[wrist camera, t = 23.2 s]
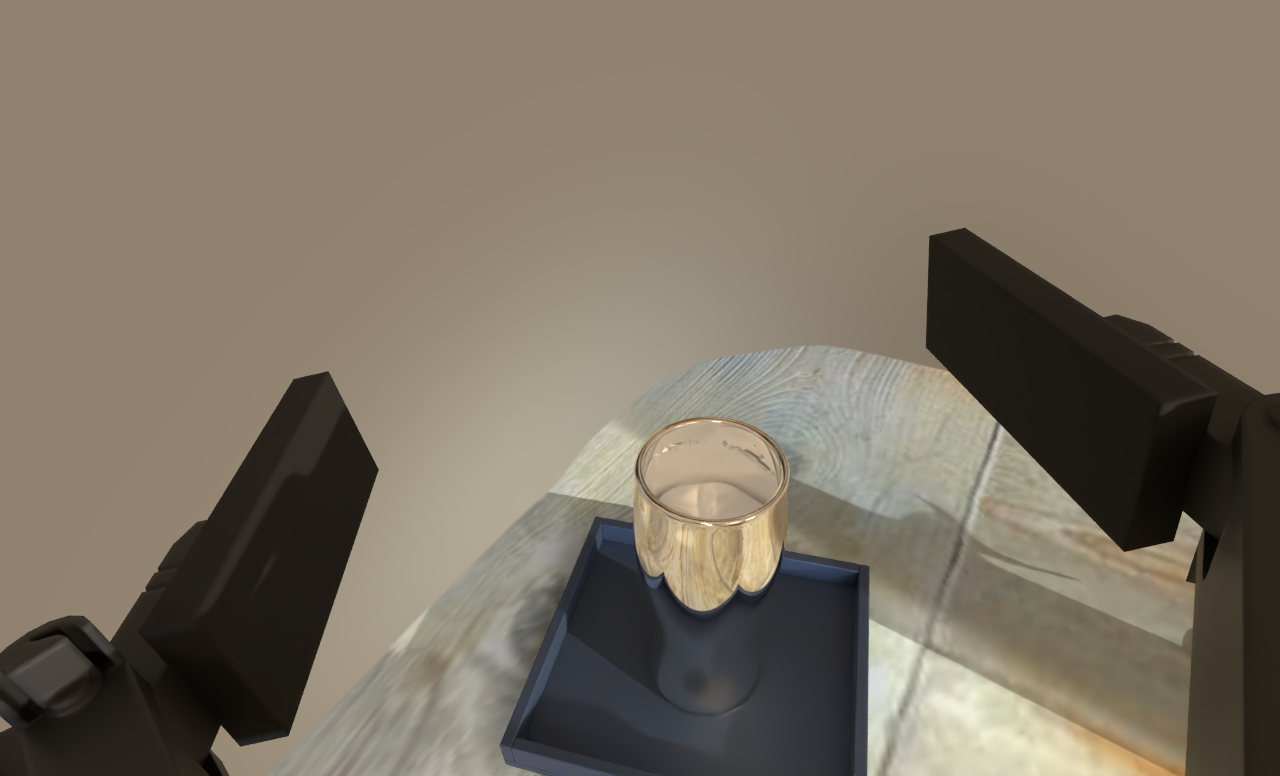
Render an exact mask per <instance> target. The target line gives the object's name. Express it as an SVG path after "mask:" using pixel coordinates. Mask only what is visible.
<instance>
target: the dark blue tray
mask: <svg viewBox="0 0 1280 776" xmlns="http://www.w3.org/2000/svg"><path fill="white" fill-rule="evenodd" d="M654 632H655V622H654V619H653V615H652V612H651V609H650V607H649V604H648V601H647V598H646V595H645V592H644V589H643V586H642V583H641V579H640V575H639V571H638V567H637V562H636V557H635V548H634V538H633V523H628V522H623V521H617V520H612V519H606V518H601V517H595V519H594V522H593V524H592V526H591V529H590V531H589V534H588V536H587V538H586V541H585V543H584V546H583V548H582V550H581V553H580V555H579V557H578V560H577V562H576V565H575V567H574V569H573V572H572V574H571V577H570V579H569V581H568V584H567V586H566V589H565V591H564V593H563V596H562V598H561V600H560V603H559V605H558V608H557V610H556V612H555V615H554V617H553V620H552V622H551V624H550V627H549V629H548V631H547V634H546V636H545V639H544V641H543V643H542V646H541V648H540V651H539V653H538V655H537V658H536V660H535V663H534V665H533V667H532V670H531V672H530V674H529V677H528V679H527V682H526V684H525V686H524V689H523V691H522V694H521V696H520V698H519V701H518V703H517V705H516V708H515V710H514V713H513V715H512V717H511V720H510V722H509V725H508V727H507V729H506V732H505V734H504V737H503V739H502V741H501V744H500V747H501V750H502V753H503V756H504V759H505V763H506V764H507V765H511V766H515V767H518V768H522V769H526V770H529V771H533V772H537V773H540V774H544V775H548V776H867V748H868V654H869V566H866V565H859V564H855V563H849V562H844V561H838V560H833V559H827V558H822V557H816V556H811V555H805V554H799V553H794V552H788V551H784V556H783V562H782V567H781V571H780V574H779V577H778V579H777V582H776V585H775V588H774V591H773V594H772V596H771V598H770V600H769V603H768V605H767V607H766V610H765V612H764V614H763V616H762V618H761V620H760V623H759V625H758V628H757V630H756V642H757V647H758V652H759V661H760V665H759V675H758V679H757V682H756V684H755V686H754V688H753V690H752V692H751V693H750V695H749V696H748V697H747V698H746V699H745V700H744V701H743V702H742V703H741V704H739V705H738V706H736V707H735V708H733V709H731V710H729V711H726V712H723V713H719V714H711V715H703V714H695V713H691V712H688V711H685V710H682V709H680V708H678V707H677V706H675V705H673V704H672V703H671V702H669V701H668V700H667V699H666V698H665V697H664V696H663V695H662V694H661V693H660V691H659V690H658V689H657V687H656V685H655V683H654V681H653V679H652V676H651V672H650V668H649V651H650V646H651V643H652V639H653V636H654Z"/></svg>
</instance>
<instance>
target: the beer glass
mask: <svg viewBox="0 0 1280 776" xmlns="http://www.w3.org/2000/svg"><path fill="white" fill-rule="evenodd" d="M634 469H635V486H634V502H633V538H634V548H635V557H636V562H637V567H638V571H639V575H640V579H641V583H642V586H643V589H644V592H645V595H646V598H647V601H648V604H649V607H650V609H651V612H652V615H653V619H654V622H655V632H654V636H653V639H652V643H651V646H650V651H649V668H650V672H651V676H652V679H653V681H654V683H655V685H656V687H657V689H658V690H659V691H660V693H661V694H662V695H663V696H664V697H665V698H666V699H667V700H668V701H669V702H671V703H672V704H673V705H675V706H677V707H678V708H680V709H682V710H685V711H688V712H691V713H695V714H703V715H711V714H719V713H723V712H726V711H729V710H731V709H733V708H735V707H736V706H738V705H739V704H741V703H742V702H743V701H744V700H745V699H746V698H747V697H748V696H749V695H750V693H751V692H752V690H753V688H754V686H755V684H756V682H757V679H758V675H759V665H760V661H759V652H758V647H757V642H756V630H757V628H758V625H759V623H760V620H761V618H762V616H763V614H764V612H765V610H766V607H767V605H768V603H769V600H770V598H771V596H772V594H773V591H774V588H775V585H776V582H777V579H778V577H779V574H780V571H781V567H782V562H783V556H784V551H785V546H786V536H787V525H788V486H789V480H790V469H789V464H788V461H787V458H786V456H785V454H784V452H783V451H782V449H781V448H780V446H779V445H778V444H777V443H776V442H775V441H774V440H773V439H772V438H771V437H770V436H768V435H767V434H766V433H764V432H762V431H761V430H759V429H757V428H755V427H753V426H751V425H749V424H746V423H743V422H740V421H737V420H733V419H728V418H721V417H697V418H690V419H685V420H681V421H678V422H675V423H672V424H669V425H667V426H665V427H663V428H662V429H660V430H658V431H657V432H655V433H654V434H653V435H651V436H650V437H649V438H648V439H647V440H646V441H645V443H644V444H643V445H642V447H641V448H640V450H639V452H638V454H637V457H636V460H635V468H634Z"/></svg>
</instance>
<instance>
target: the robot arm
mask: <svg viewBox="0 0 1280 776" xmlns="http://www.w3.org/2000/svg"><path fill="white" fill-rule="evenodd" d="M926 348H927V349H928V350H929V351H930V352H931V353H932V354H933V355H934V356H935V357H936V358H937V359H938V360H939V361H940V362H941V363H942V364H943V365H944V366H945V367H946V368H947V369H948V371H949V372H950V373H951V374H952V375H953V376H954V377H955V378H956V379H957V380H958V381H959V382H960V383H961V384H962V385H963V386H964V387H965V388H966V389H967V390H968V391H969V392H970V393H971V394H972V395H973V396H974V397H975V398H976V399H977V400H978V402H979V403H980V404H981V405H982V406H983V407H984V408H985V409H986V410H987V411H988V412H989V413H990V414H991V415H992V416H993V417H994V418H995V419H996V420H997V421H998V422H999V423H1000V424H1001V425H1002V426H1003V427H1004V428H1005V429H1006V430H1007V431H1008V432H1009V434H1010V435H1011V436H1012V437H1013V438H1014V439H1015V440H1016V441H1017V442H1018V443H1019V444H1020V445H1021V446H1022V447H1023V448H1024V449H1025V450H1026V451H1027V452H1028V453H1029V454H1030V455H1031V456H1032V457H1033V458H1034V459H1035V460H1036V461H1037V462H1038V463H1039V465H1040V466H1041V467H1042V468H1043V469H1044V470H1045V471H1046V472H1047V473H1048V474H1049V475H1050V476H1051V477H1052V478H1053V479H1054V480H1055V481H1056V482H1057V483H1058V484H1059V485H1060V486H1061V487H1062V488H1063V489H1064V490H1065V491H1066V492H1067V493H1068V494H1069V495H1070V497H1071V498H1072V499H1073V500H1074V501H1075V502H1076V503H1077V504H1078V505H1079V506H1080V507H1081V508H1082V509H1083V510H1084V511H1085V512H1086V513H1087V514H1088V515H1089V516H1090V517H1091V518H1092V519H1093V520H1094V521H1095V522H1096V523H1097V524H1098V525H1099V526H1100V528H1101V529H1102V530H1103V531H1104V532H1105V533H1106V534H1107V535H1108V536H1109V537H1110V538H1111V539H1112V540H1113V541H1114V542H1115V543H1116V544H1117V545H1118V546H1119V547H1120V548H1121V549H1122V550H1123V551H1124V552H1126V551H1130V550H1135V549H1140V548H1144V547H1149V546H1153V545H1158V544H1162V543H1167V542H1171V541H1174V538H1175V534H1176V531H1177V528H1178V524H1179V521H1180V518H1181V515H1182V511H1184V512H1185V513H1186V514H1187V515H1188V516H1190V517H1191V518H1192V519H1193V520H1194V521H1195V522H1196V523H1198V524H1199V525H1200V526H1201V527H1202V528H1203V531H1202V534H1201V537H1200V540H1199V543H1198V546H1197V549H1196V552H1195V555H1194V558H1193V561H1192V564H1191V567H1190V570H1189V573H1188V576H1187V579H1186V581H1187V582H1191V583H1195V602H1194V620H1193V639H1192V658H1191V676H1190V695H1189V714H1188V732H1187V751H1186V770H1185V776H1280V393H1276V394H1269V395H1263V394H1262V393H1260V392H1258V391H1257V390H1255V389H1254V388H1252V387H1250V386H1249V385H1247V384H1245V383H1244V382H1242V381H1240V380H1239V379H1237V378H1236V377H1234V376H1232V375H1231V374H1229V373H1227V372H1226V371H1224V370H1222V369H1221V368H1219V367H1217V366H1216V365H1214V364H1213V363H1211V362H1209V361H1208V360H1206V359H1204V358H1202V357H1201V356H1199V355H1196V356H1194V354H1193V351H1191V350H1190V349H1188V348H1186V347H1185V346H1183V345H1181V344H1180V343H1174V340H1173V339H1172V338H1170V337H1168V336H1167V335H1165V334H1163V333H1162V332H1160V331H1158V330H1157V329H1155V328H1154V327H1152V326H1150V325H1148V324H1145V323H1142V322H1139V321H1135V320H1132V319H1129V318H1126V317H1123V316H1120V315H1112V316H1108V317H1102V316H1100V315H1099V314H1097V313H1096V312H1094V311H1092V310H1091V309H1089V308H1088V307H1086V306H1085V305H1083V304H1082V303H1080V302H1078V301H1077V300H1075V299H1074V298H1072V297H1071V296H1069V295H1068V294H1066V293H1065V292H1063V291H1062V290H1060V289H1058V288H1057V287H1055V286H1054V285H1052V284H1051V283H1049V282H1048V281H1046V280H1045V279H1043V278H1041V277H1040V276H1038V275H1036V274H1035V273H1034V272H1032V271H1031V270H1029V269H1028V268H1026V267H1024V266H1023V265H1021V264H1020V263H1018V262H1016V261H1015V260H1014V259H1012V258H1011V257H1009V256H1008V255H1006V254H1004V253H1003V252H1001V251H1000V250H998V249H997V248H995V247H993V246H992V245H991V244H989V243H987V242H986V241H984V240H983V239H981V238H980V237H978V236H976V235H975V234H974V233H972V232H970V231H969V230H967V229H966V228H962V229H958V230H953V231H949V232H945V233H940V234H935V235H931V236H929V266H928V298H927V331H926ZM378 470H379V469H378V468H377V466H376V464H375V462H374V460H373V458H372V456H371V454H370V452H369V450H368V448H367V446H366V444H365V442H364V440H363V438H362V436H361V434H360V432H359V430H358V428H357V426H356V424H355V422H354V420H353V418H352V417H351V415H350V413H349V411H348V409H347V407H346V405H345V403H344V401H343V399H342V397H341V395H340V393H339V391H338V389H337V387H336V385H335V383H334V381H333V379H332V377H331V375H330V373H329V372H324V373H319V374H315V375H310V376H306V377H301V378H297V379H294V380H293V381H292V383H291V385H290V386H289V388H288V389H287V391H286V393H285V394H284V396H283V398H282V399H281V401H280V402H279V404H278V406H277V407H276V409H275V411H274V412H273V414H272V415H271V417H270V419H269V420H268V422H267V424H266V425H265V427H264V429H263V430H262V432H261V433H260V435H259V437H258V438H257V440H256V441H255V443H254V445H253V446H252V448H251V450H250V451H249V453H248V455H247V456H246V458H245V460H244V461H243V463H242V464H241V466H240V468H239V469H238V471H237V472H236V474H235V476H234V477H233V479H232V481H231V482H230V484H229V486H228V487H227V489H226V491H225V492H224V494H223V496H222V497H221V499H220V500H219V502H218V503H217V505H216V507H215V508H214V510H213V512H212V513H211V515H210V517H209V518H208V520H204V521H200V522H197V523H196V524H195V525H194V526H192V527H191V529H189V530H188V531H187V532H186V533H185V534H184V535H183V536H182V537H181V538H180V539H179V540H178V541H177V542H176V543H174V544H173V546H172V547H171V549H170V550H169V552H168V553H167V555H166V556H165V558H164V559H163V561H162V563H161V564H160V566H159V567H158V572H157V573H155V574H154V575H153V576H152V578H151V580H150V581H149V583H148V584H147V586H146V587H145V588H146V592H142V593H141V595H140V597H139V598H138V600H137V601H136V603H135V604H134V606H133V608H132V609H131V610H130V612H129V614H128V615H127V617H126V618H125V620H124V621H123V623H122V624H121V626H120V628H119V629H118V631H117V632H116V634H115V635H114V637H113V638H112V640H111V641H110V642H109V641H108V640H107V639H106V638H105V637H104V635H103V634H102V633H101V632H100V631H99V630H98V629H97V628H96V627H95V626H94V625H93V624H92V623H91V622H90V621H89V620H88V619H86V618H85V617H84V616H66V617H63V618H59V619H56V620H53V621H49V622H47V623H46V624H44V625H42V626H40V627H38V628H36V629H34V630H32V631H30V632H28V633H26V634H25V635H24V636H22V637H21V638H19V639H18V640H16V641H15V642H14V643H12V644H11V645H9V646H8V647H7V648H6V649H4V651H2V652H1V653H0V716H1V717H2V718H3V719H4V720H5V721H6V722H8V723H9V724H10V725H11V726H12V727H11V728H9V729H7V730H5V731H3V732H0V776H229V774H228V772H227V770H226V769H225V767H224V765H223V763H222V761H221V760H220V759H219V758H218V757H217V756H216V755H215V754H214V753H213V752H212V750H211V747H212V744H213V742H214V740H215V737H216V735H217V733H218V730H219V728H220V726H221V725H222V727H223V728H224V729H225V730H226V731H227V732H228V733H229V734H230V735H231V736H232V738H233V739H234V740H235V741H236V742H237V743H238V744H239V745H240V746H245V745H249V744H254V743H259V742H263V741H268V740H273V739H277V738H281V737H286V736H289V733H290V730H291V727H292V724H293V721H294V718H295V716H296V713H297V710H298V707H299V704H300V700H301V698H302V695H303V691H304V689H305V686H306V683H307V680H308V677H309V674H310V671H311V668H312V665H313V662H314V659H315V656H316V653H317V650H318V648H319V645H320V641H321V639H322V636H323V633H324V630H325V627H326V624H327V621H328V618H329V615H330V612H331V609H332V606H333V603H334V600H335V597H336V594H337V591H338V588H339V585H340V583H341V580H342V577H343V574H344V571H345V568H346V564H347V562H348V559H349V556H350V553H351V550H352V547H353V544H354V541H355V538H356V535H357V532H358V529H359V526H360V523H361V520H362V517H363V515H364V511H365V509H366V506H367V503H368V499H369V497H370V494H371V491H372V488H373V485H374V482H375V479H376V476H377V473H378Z"/></svg>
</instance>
